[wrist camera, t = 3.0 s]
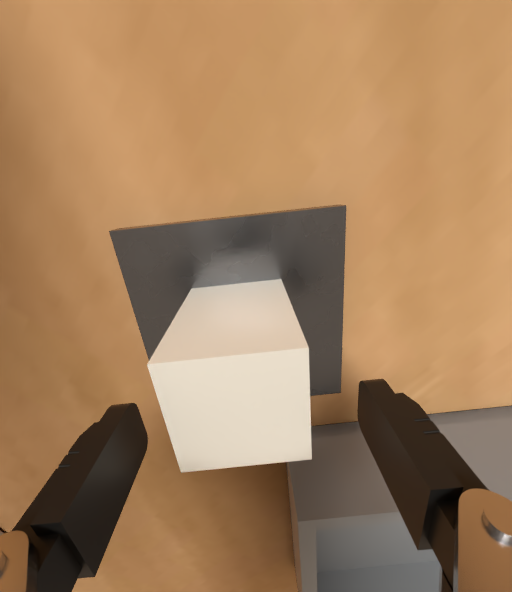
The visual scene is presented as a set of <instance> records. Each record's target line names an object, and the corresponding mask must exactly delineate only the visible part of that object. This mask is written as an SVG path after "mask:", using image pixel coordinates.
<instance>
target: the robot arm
mask: <svg viewBox="0 0 512 592" xmlns="http://www.w3.org/2000/svg"><path fill="white" fill-rule="evenodd" d="M358 421H359V426H360V429H361V432H362V434H363V436H364V438H365V440H366V442H367V445H368V447H369V449H370V451H371V453H372V455H373V457H374V459H375V461H376V464H377V466H378V468H379V470H380V472H381V474H382V476H383V478H384V480H385V483H386V485H387V487H388V489H389V491H390V493H391V495H392V497H393V499H394V502H395V504H396V506H397V508H398V510H399V512H400V514H401V516H402V518H403V520H404V523H405V525H406V527H407V529H408V531H409V533H410V535H411V537H412V539H413V542H414V544H415V546H416V548H417V550H429V549H433V551H434V553H435V555H436V557H437V559H438V561H439V563H440V565H441V566H440V574H439V592H512V501H510V500H509V499H507V498H505V497H503V496H501V495H499V494H497V493H495V492H492V491H490V490H489V489H488V488H487V487H486V486H485V485H484V484H483V483H482V482H481V480H480V479H479V478H478V477H477V475H476V474H475V473H474V472H473V471H472V469H471V468H470V467H469V466H468V464H467V463H466V462H465V461H464V459H463V458H462V457H461V456H460V455H459V453H458V452H457V451H456V450H455V448H454V447H453V446H452V445H451V443H450V442H449V441H448V440H447V439H446V437H445V436H444V435H443V434H442V433H440V431H439V429H438V428H437V426H436V425H435V424H434V423H433V421H430V418H429V416H428V415H427V414H426V413H425V412H424V410H423V409H422V408H421V407H420V405H419V404H418V403H416V402H415V401H413V400H412V399H411V398H409V397H408V396H406V395H405V394H403V393H397V394H395V393H394V392H393V390H392V389H391V388H390V386H389V385H388V384H387V382H386V381H385V380H384V379H375V380H365V381H360V383H359V395H358ZM147 443H148V437H147V432H146V429H145V427H144V424H143V421H142V418H141V415H140V412H139V410H138V407H137V405H136V404H135V403H129V404H119V405H112V406H110V407H109V408H108V409H107V411H106V412H105V414H104V415H103V417H102V418H101V420H100V421H99V422H96V423H94V424H93V425H92V426H90V427H89V428H88V429H87V430H86V431H85V432H84V433H83V434H82V435H80V436H79V438H78V439H77V441H76V442H75V443H74V445H73V446H72V448H71V449H70V450H69V453H68V455H66V456H65V457H64V459H63V460H62V462H61V463H60V464H59V468H58V469H56V470H55V471H54V473H53V474H52V476H51V477H50V478H49V480H48V481H47V483H46V484H45V485H44V487H43V488H42V490H41V491H40V492H39V494H38V495H37V497H36V498H35V499H34V501H33V502H32V504H31V505H30V506H29V508H28V509H27V511H26V512H25V513H24V515H23V516H22V518H21V519H20V520H19V522H18V523H17V525H16V526H15V527H14V528H13V530H12V531H11V532H7V533H5V534H2V535H0V592H72V589H73V587H74V585H75V583H76V581H77V578H87V577H95V575H96V573H97V570H98V568H99V565H100V563H101V561H102V558H103V556H104V553H105V551H106V548H107V546H108V543H109V541H110V539H111V536H112V534H113V531H114V529H115V526H116V524H117V521H118V519H119V517H120V514H121V512H122V509H123V507H124V504H125V502H126V499H127V497H128V495H129V492H130V490H131V487H132V485H133V482H134V480H135V478H136V475H137V473H138V470H139V468H140V465H141V463H142V460H143V458H144V456H145V453H146V450H147Z"/></svg>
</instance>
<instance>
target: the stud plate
mask: <svg viewBox="0 0 512 592" xmlns="http://www.w3.org/2000/svg"><path fill="white" fill-rule="evenodd" d="M345 229H346V205H332V206H323V207H314V208H305V209H295V210H286V211H277V212H267V213H258V214H249V215H240V216H230V217H221V218H212V219H203V220H193V221H184V222H175V223H166V224H156V225H147V226H138V227H129V228H119V229H115V230H111V231H109V232H110V236H111V239H112V242H113V245H114V249H115V252H116V255H117V258H118V261H119V265H120V268H121V271H122V274H123V278H124V281H125V284H126V287H127V291H128V294H129V297H130V300H131V304H132V307H133V310H134V313H135V317H136V320H137V323H138V326H139V330H140V333H141V336H142V339H143V342H144V346H145V349H146V352H147V355H148V359H149V360H150V359H151V357H152V355H153V353H154V352H155V350H156V348H157V347H158V345H159V343H160V341H161V340H162V338H163V336H164V335H165V333H166V331H167V329H168V328H169V326H170V324H171V323H172V321H173V319H174V318H175V316H176V314H177V312H178V311H179V309H180V307H181V306H182V304H183V302H184V300H185V299H186V297H187V295H188V294H189V292H190V290H191V289H192V288H201V287H211V286H220V285H230V284H239V283H248V282H258V281H267V280H277V279H281V280H282V282H283V285H284V287H285V290H286V292H287V295H288V297H289V300H290V302H291V305H292V307H293V310H294V312H295V315H296V317H297V320H298V322H299V325H300V327H301V330H302V332H303V335H304V337H305V340H306V342H307V344H308V347H309V375H310V396H313V395H323V394H333V393H341V365H342V331H343V297H344V263H345Z"/></svg>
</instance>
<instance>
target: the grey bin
mask: <svg viewBox="0 0 512 592" xmlns="http://www.w3.org/2000/svg"><path fill="white" fill-rule="evenodd" d="M427 415H428V416H429V418H430V421H433V423H434V424H435V425H436V426H437V428H438V429H439V431H440V433H442V434H443V435H444V436H445V437H446V439H447V440H448V441H449V442H450V443H451V445H452V446H453V447H454V448H455V450H456V451H457V452H458V453H459V455H460V456H461V457H462V458H463V459H464V461H465V462H466V463H467V464H468V466H469V467H470V468H471V469H472V471H473V472H474V473H475V474H476V475H477V477H478V478H479V479H480V480H481V482H482V483H483V484H484V485H485V486H486V487H487V488H488V489H489V490H490V491H492V492H495V493H497V494H499V495H501V496H503V497H505V498H507V499H509V500H510V501H512V406H505V407H495V408H486V409H476V410H466V411H456V412H447V413H437V414H427ZM311 447H312V459H310V460H301V461H291V462H286V467H287V479H288V491H289V503H290V515H291V527H292V539H293V551H294V563H295V572H296V580H297V588H298V592H439V574H440V566H441V565H440V563H439V561H438V559H437V557H436V555H435V553H434V551H433V549H429V550H417V548H416V546H415V544H414V542H413V539H412V537H411V535H410V533H409V531H408V529H407V527H406V525H405V523H404V520H403V518H402V516H401V514H400V512H399V510H398V508H397V506H396V504H395V502H394V499H393V497H392V495H391V493H390V491H389V489H388V487H387V485H386V483H385V480H384V478H383V476H382V474H381V472H380V470H379V468H378V466H377V464H376V461H375V459H374V457H373V455H372V453H371V451H370V449H369V447H368V445H367V442H366V440H365V438H364V436H363V434H362V432H361V429H360V426H359V422H349V423H339V424H329V425H319V426H311Z"/></svg>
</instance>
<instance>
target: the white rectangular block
mask: <svg viewBox="0 0 512 592" xmlns="http://www.w3.org/2000/svg"><path fill="white" fill-rule="evenodd" d="M147 366H148V369H149V372H150V376H151V379H152V382H153V385H154V388H155V392H156V395H157V398H158V401H159V404H160V407H161V411H162V414H163V417H164V420H165V423H166V426H167V430H168V433H169V436H170V439H171V442H172V446H173V449H174V452H175V455H176V458H177V461H178V465H179V468H180V471H181V473H182V472H192V471H202V470H212V469H222V468H232V467H241V466H251V465H261V464H271V463H281V462H291V461H301V460H310V459H312V447H311V411H310V375H309V347H308V344H307V342H306V340H305V337H304V335H303V332H302V330H301V327H300V325H299V322H298V320H297V317H296V315H295V312H294V310H293V307H292V305H291V302H290V300H289V297H288V295H287V292H286V290H285V287H284V285H283V282H282V280H281V279H277V280H267V281H258V282H248V283H239V284H230V285H220V286H211V287H201V288H192V289H191V290H190V292H189V294H188V295H187V297H186V299H185V300H184V302H183V304H182V306H181V307H180V309H179V311H178V312H177V314H176V316H175V318H174V319H173V321H172V323H171V324H170V326H169V328H168V329H167V331H166V333H165V335H164V336H163V338H162V340H161V341H160V343H159V345H158V347H157V348H156V350H155V352H154V353H153V355H152V357H151V359H150V360H149V362H148V364H147Z"/></svg>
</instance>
